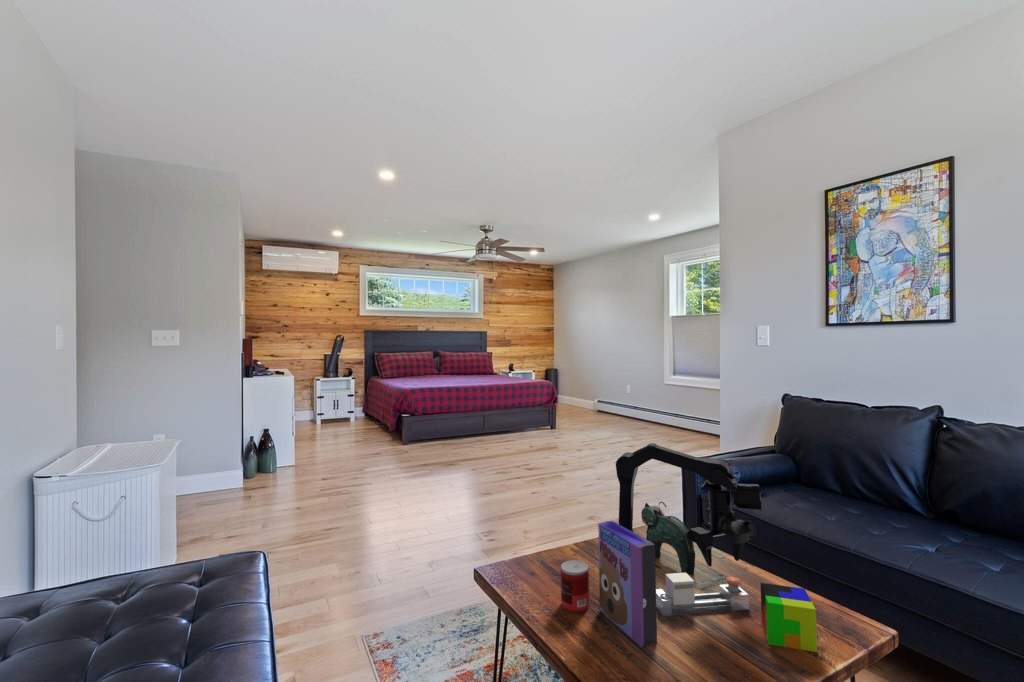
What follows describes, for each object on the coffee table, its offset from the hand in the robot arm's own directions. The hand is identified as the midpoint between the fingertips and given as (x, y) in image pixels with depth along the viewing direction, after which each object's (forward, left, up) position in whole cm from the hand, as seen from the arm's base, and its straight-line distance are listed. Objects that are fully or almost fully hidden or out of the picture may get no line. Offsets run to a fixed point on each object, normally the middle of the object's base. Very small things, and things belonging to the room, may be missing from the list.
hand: (723, 563), depth 129 cm
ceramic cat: (-4, +27, -12) cm, 29 cm away
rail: (-7, +1, -12) cm, 13 cm away
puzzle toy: (+8, -14, -12) cm, 20 cm away
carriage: (-13, 0, -9) cm, 16 cm away
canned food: (-41, +6, -12) cm, 43 cm away
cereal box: (-30, -5, -12) cm, 33 cm away
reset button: (+3, +1, -10) cm, 10 cm away
